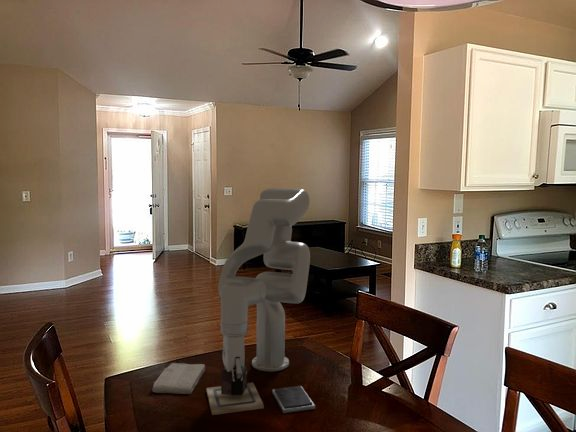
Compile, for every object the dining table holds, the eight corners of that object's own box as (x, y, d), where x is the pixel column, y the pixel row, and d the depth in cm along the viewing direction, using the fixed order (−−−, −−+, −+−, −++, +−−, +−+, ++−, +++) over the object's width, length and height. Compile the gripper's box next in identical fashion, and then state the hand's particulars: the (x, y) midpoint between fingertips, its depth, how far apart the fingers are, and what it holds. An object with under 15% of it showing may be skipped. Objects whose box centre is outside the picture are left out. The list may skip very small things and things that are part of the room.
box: (241, 396, 124) (241, 371, 124) (220, 394, 125) (220, 369, 125) (247, 386, 130) (247, 362, 130) (227, 384, 131) (227, 360, 131)
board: (206, 391, 133) (206, 387, 133) (253, 385, 137) (253, 381, 137) (212, 415, 119) (212, 410, 119) (263, 408, 123) (263, 404, 123)
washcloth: (206, 370, 148) (206, 361, 148) (192, 396, 130) (192, 386, 130) (170, 369, 149) (170, 360, 149) (151, 395, 131) (151, 384, 131)
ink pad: (272, 392, 132) (272, 388, 132) (301, 389, 135) (301, 384, 135) (283, 413, 121) (283, 408, 121) (314, 408, 123) (315, 403, 123)
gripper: (216, 318, 134) (217, 375, 135) (225, 338, 117) (225, 403, 118) (241, 316, 136) (241, 373, 137) (253, 336, 119) (253, 400, 121)
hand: (234, 387), depth 128 cm, fingers closed on box, 8 cm apart
